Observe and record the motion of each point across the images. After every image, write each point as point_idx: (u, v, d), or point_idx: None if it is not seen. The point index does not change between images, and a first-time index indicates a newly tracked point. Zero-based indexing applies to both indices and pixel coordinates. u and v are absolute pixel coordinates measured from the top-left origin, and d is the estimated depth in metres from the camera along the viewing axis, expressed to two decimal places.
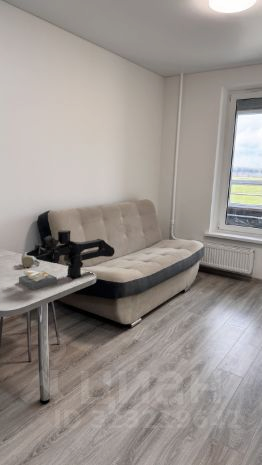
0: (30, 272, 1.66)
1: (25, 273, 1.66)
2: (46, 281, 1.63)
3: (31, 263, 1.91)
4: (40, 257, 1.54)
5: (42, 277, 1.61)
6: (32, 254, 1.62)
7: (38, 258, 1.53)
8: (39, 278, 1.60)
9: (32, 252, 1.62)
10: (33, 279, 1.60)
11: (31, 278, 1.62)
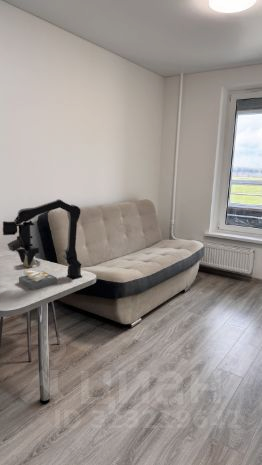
0: (30, 272, 1.66)
1: (25, 273, 1.66)
2: (46, 281, 1.63)
3: (32, 263, 1.91)
4: (29, 262, 1.62)
5: (42, 277, 1.61)
6: (23, 256, 1.67)
7: (29, 263, 1.63)
8: (39, 278, 1.60)
9: (21, 256, 1.67)
10: (33, 279, 1.60)
11: (31, 278, 1.62)
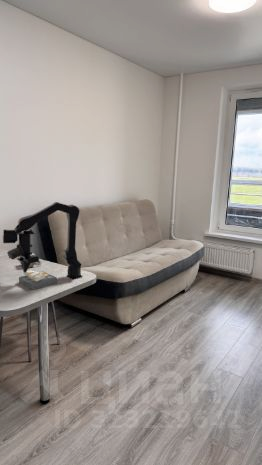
0: (30, 272, 1.66)
1: (25, 273, 1.66)
2: (46, 281, 1.63)
3: (33, 263, 1.91)
4: (25, 269, 1.64)
5: (42, 277, 1.61)
6: None
7: (25, 270, 1.65)
8: (39, 278, 1.60)
9: None
10: (33, 279, 1.60)
11: (31, 278, 1.62)
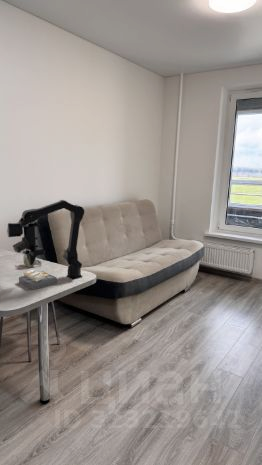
0: (30, 272, 1.66)
1: (25, 274, 1.66)
2: (46, 281, 1.63)
3: (33, 263, 1.91)
4: (31, 262, 1.63)
5: (42, 277, 1.61)
6: None
7: (32, 263, 1.64)
8: (39, 278, 1.60)
9: None
10: (33, 279, 1.60)
11: (31, 278, 1.62)
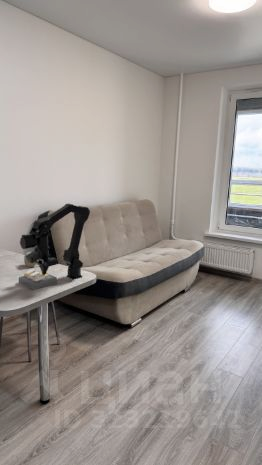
0: (29, 273, 1.66)
1: (25, 275, 1.66)
2: (46, 281, 1.63)
3: (34, 263, 1.91)
4: (44, 271, 1.62)
5: (42, 277, 1.61)
6: None
7: (45, 273, 1.63)
8: (39, 278, 1.60)
9: None
10: (33, 279, 1.60)
11: (31, 278, 1.62)
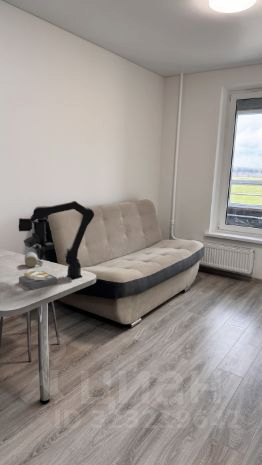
0: (29, 273, 1.66)
1: (25, 275, 1.66)
2: (46, 281, 1.63)
3: (34, 263, 1.91)
4: (41, 256, 1.70)
5: (42, 278, 1.62)
6: None
7: (41, 258, 1.70)
8: (39, 278, 1.60)
9: None
10: (33, 277, 1.60)
11: (31, 278, 1.62)
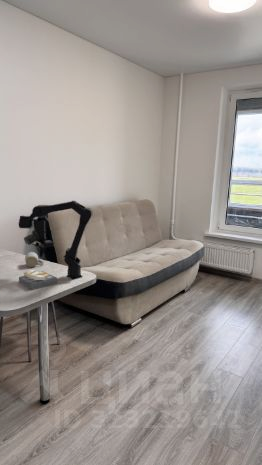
0: (30, 272, 1.66)
1: (25, 275, 1.66)
2: (46, 281, 1.63)
3: (35, 263, 1.91)
4: (41, 254, 1.74)
5: (42, 278, 1.62)
6: None
7: (41, 255, 1.74)
8: (39, 278, 1.60)
9: None
10: (33, 277, 1.60)
11: (31, 278, 1.62)
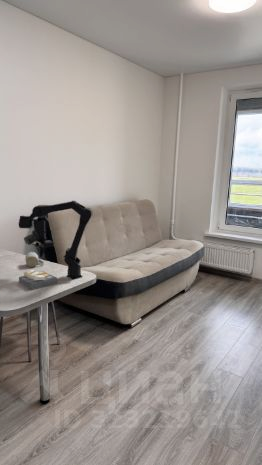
0: (30, 272, 1.66)
1: (25, 275, 1.66)
2: (46, 281, 1.63)
3: (35, 263, 1.91)
4: (41, 254, 1.74)
5: (42, 278, 1.62)
6: None
7: (41, 255, 1.74)
8: (39, 278, 1.60)
9: None
10: (33, 277, 1.60)
11: (31, 278, 1.62)
